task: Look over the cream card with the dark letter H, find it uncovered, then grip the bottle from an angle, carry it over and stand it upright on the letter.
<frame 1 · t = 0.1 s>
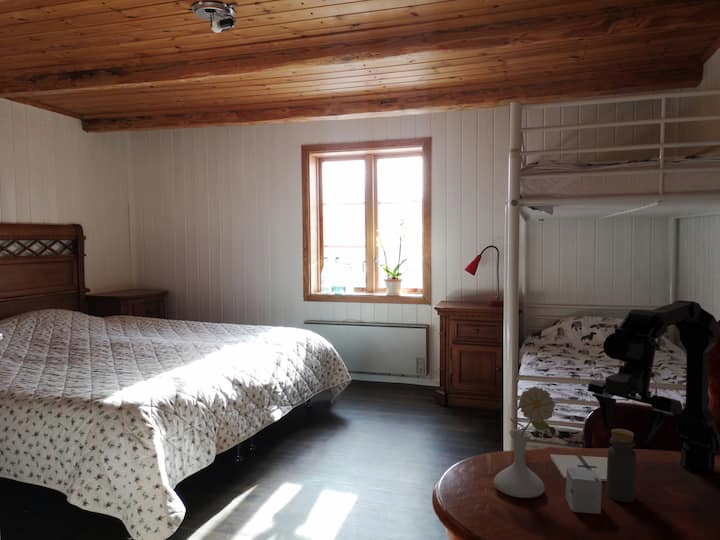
hand: (625, 434, 117), 15 cm above the table, tool pointing down, fingers open, 9 cm apart
skincare box: (582, 507, 116), on the table
letter card: (586, 468, 136), on the table
bottle: (620, 497, 121), on the table
flower in vase: (522, 492, 122), on the table
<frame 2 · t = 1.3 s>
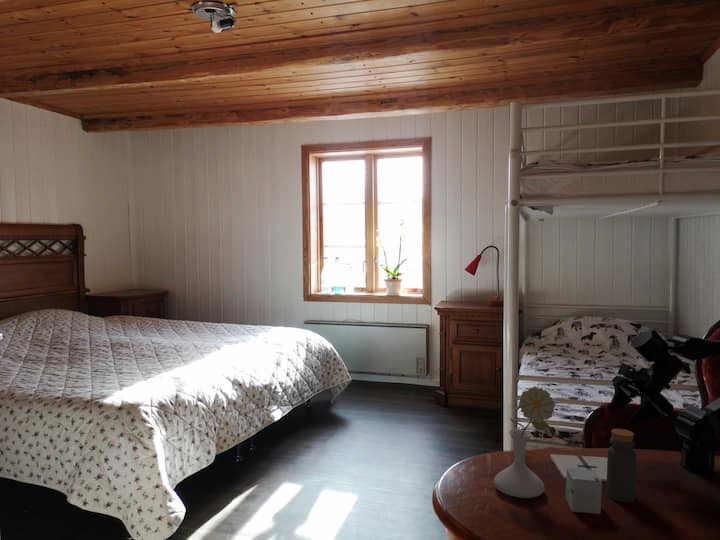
hand: (618, 418, 135), 13 cm above the table, tool tilted 45°, fingers open, 9 cm apart
nothing on the table moved.
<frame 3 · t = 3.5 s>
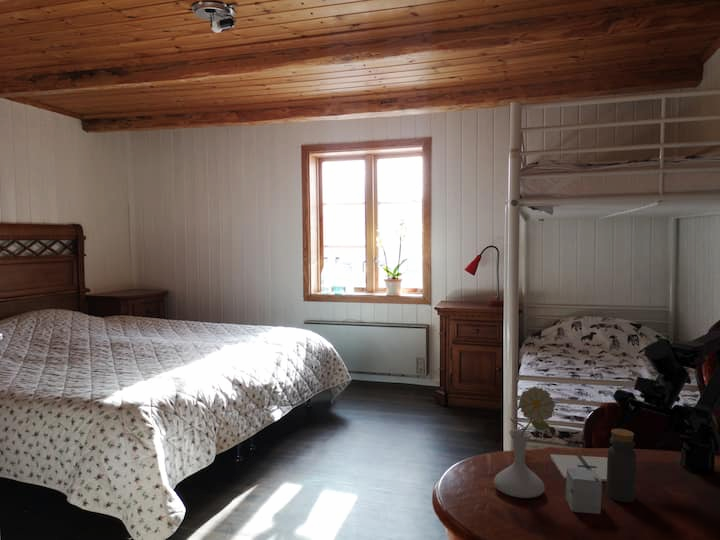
hand: (638, 438, 123), 13 cm above the table, tool tilted 45°, fingers open, 9 cm apart
nothing on the table moved.
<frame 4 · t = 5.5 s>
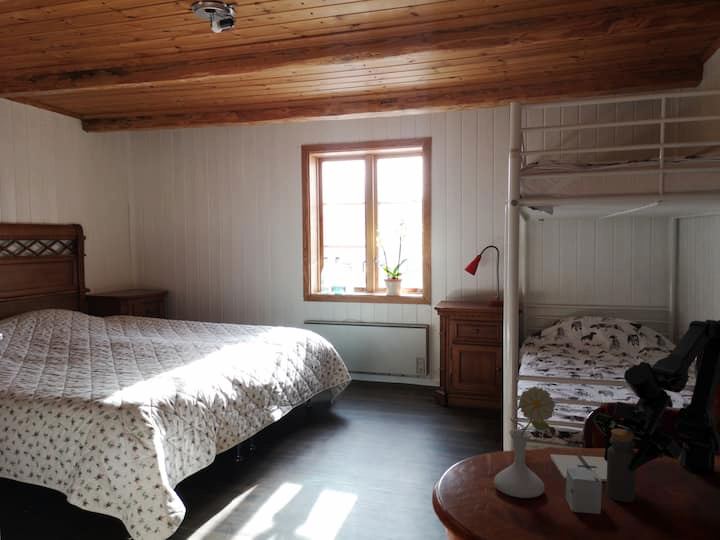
hand: (617, 465, 120), 8 cm above the table, tool tilted 45°, fingers closed on bottle, 6 cm apart
bottle: (620, 497, 121), on the table, touching gripper
everything else where it was.
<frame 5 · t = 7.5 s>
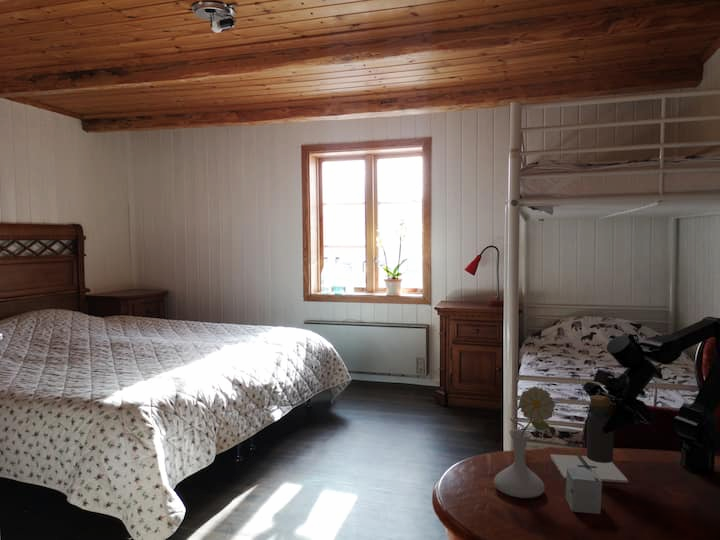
hand: (595, 427, 128), 13 cm above the table, tool tilted 45°, fingers closed on bottle, 6 cm apart
bottle: (599, 459, 129), point 5 cm above the table, touching gripper
everything else where it was.
when the fingers open (9 cm above the table, at t = 9.4 s): bottle drops 1 cm, resting on letter card.
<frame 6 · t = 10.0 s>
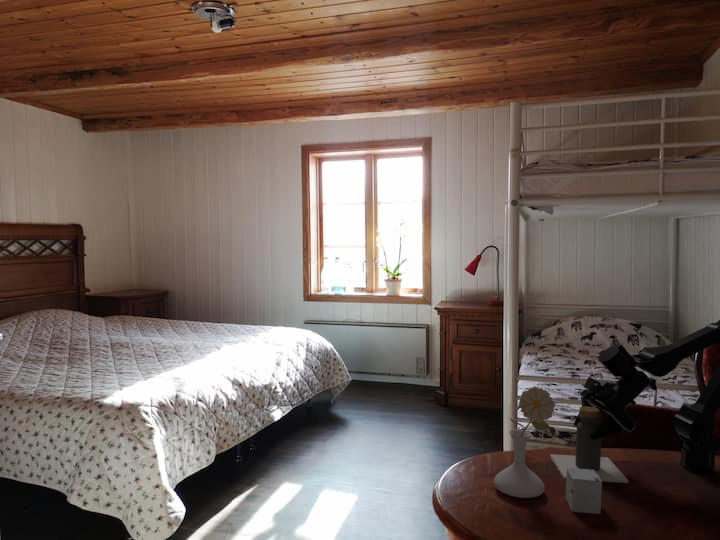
hand: (582, 432, 135), 10 cm above the table, tool tilted 45°, fingers open, 9 cm apart
bottle: (587, 467, 136), resting on letter card
everything else where it was.
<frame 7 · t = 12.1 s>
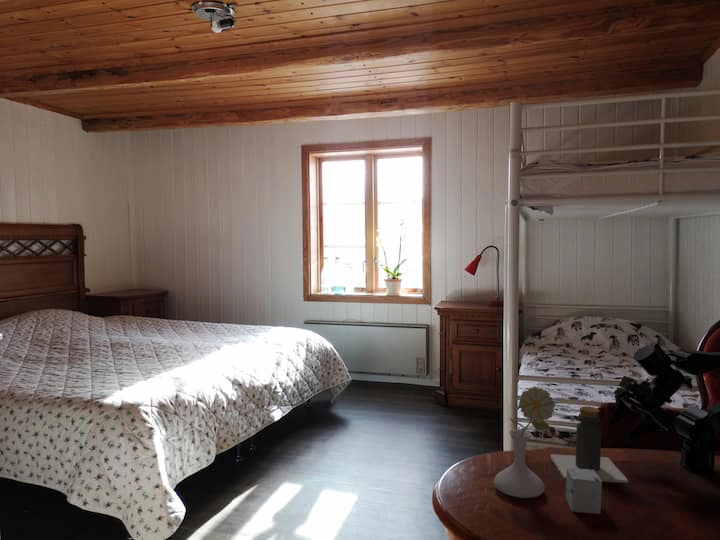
hand: (618, 430, 136), 10 cm above the table, tool tilted 45°, fingers open, 9 cm apart
nothing on the table moved.
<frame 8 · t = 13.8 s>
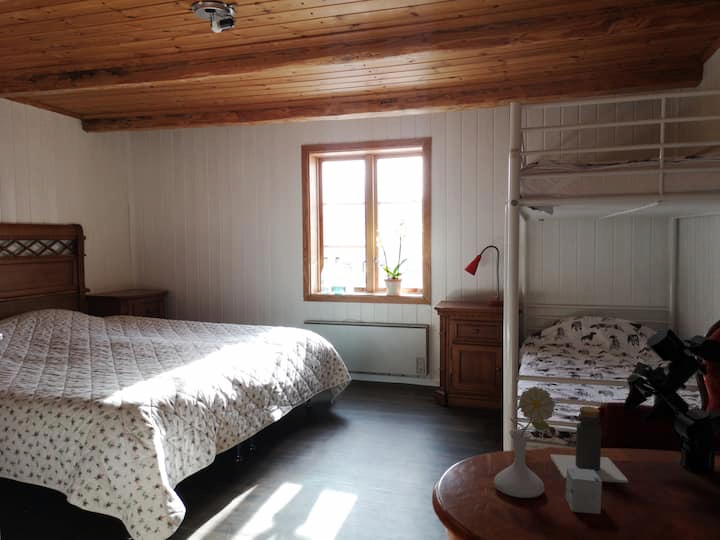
hand: (632, 416, 136), 14 cm above the table, tool tilted 45°, fingers open, 9 cm apart
nothing on the table moved.
at the end: bottle inside the target area on the letter card (0.1 cm from its centre), point 0.4 cm above the letter card's base; bottle tilted 0°; the gripper is holding nothing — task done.
